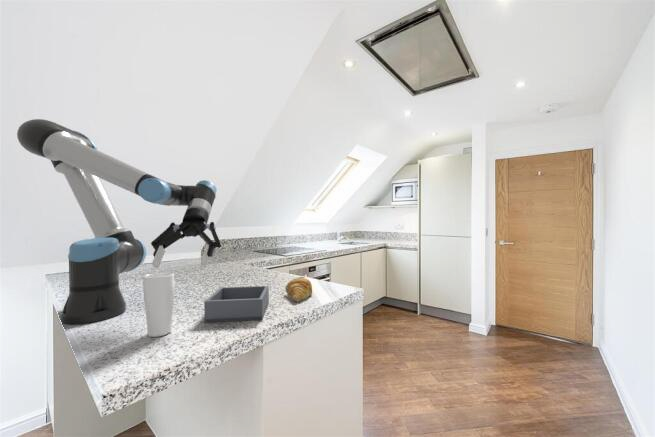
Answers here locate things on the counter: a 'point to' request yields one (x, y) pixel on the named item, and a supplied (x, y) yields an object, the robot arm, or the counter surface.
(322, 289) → the counter surface
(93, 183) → the robot arm
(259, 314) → the bin
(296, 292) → the croissant
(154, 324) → the white plastic tumbler
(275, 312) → the counter surface
